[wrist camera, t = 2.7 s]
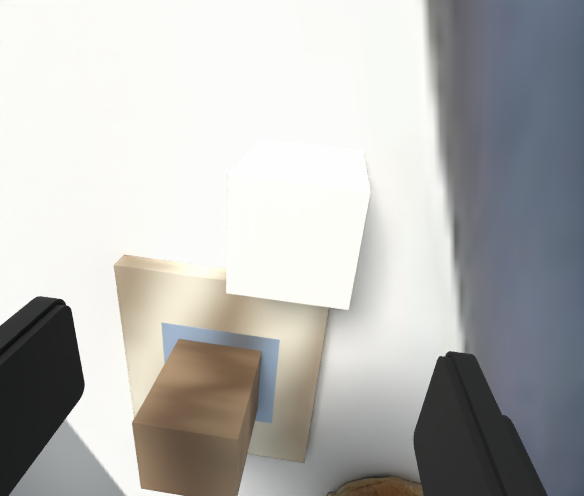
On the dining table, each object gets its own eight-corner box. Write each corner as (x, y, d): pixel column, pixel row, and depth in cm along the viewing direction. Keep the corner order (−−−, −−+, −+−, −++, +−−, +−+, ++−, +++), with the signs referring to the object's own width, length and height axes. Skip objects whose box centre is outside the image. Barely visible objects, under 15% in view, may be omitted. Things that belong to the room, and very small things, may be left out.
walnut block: (261, 350, 24) (237, 439, 19) (257, 410, 26) (235, 504, 21) (178, 338, 24) (132, 422, 19) (181, 398, 26) (141, 488, 21)
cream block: (363, 150, 19) (370, 191, 14) (347, 243, 22) (348, 310, 16) (259, 138, 20) (227, 174, 14) (254, 232, 22) (226, 293, 17)
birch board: (331, 283, 23) (331, 295, 22) (305, 447, 29) (304, 463, 28) (124, 254, 23) (113, 265, 22) (144, 421, 30) (136, 436, 29)
